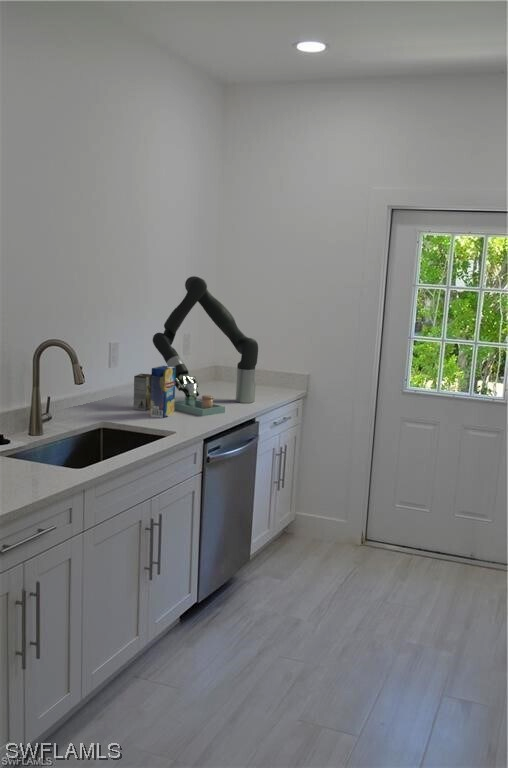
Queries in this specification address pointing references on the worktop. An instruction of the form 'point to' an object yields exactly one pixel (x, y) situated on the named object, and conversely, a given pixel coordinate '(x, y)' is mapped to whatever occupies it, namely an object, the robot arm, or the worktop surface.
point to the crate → (198, 408)
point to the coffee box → (142, 391)
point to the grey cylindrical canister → (193, 391)
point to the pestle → (207, 402)
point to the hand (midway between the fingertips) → (193, 396)
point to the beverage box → (162, 391)
